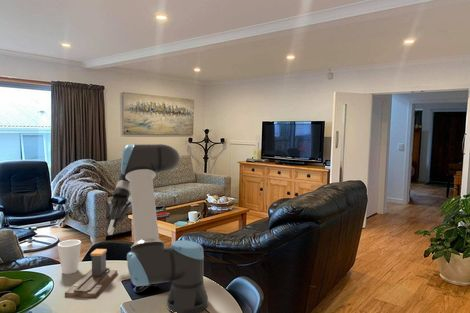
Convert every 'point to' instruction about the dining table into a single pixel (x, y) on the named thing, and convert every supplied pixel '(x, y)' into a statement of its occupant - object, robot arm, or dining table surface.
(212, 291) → the dining table surface
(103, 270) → the fader tab
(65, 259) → the foam cup
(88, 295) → the brown wooden flat board
